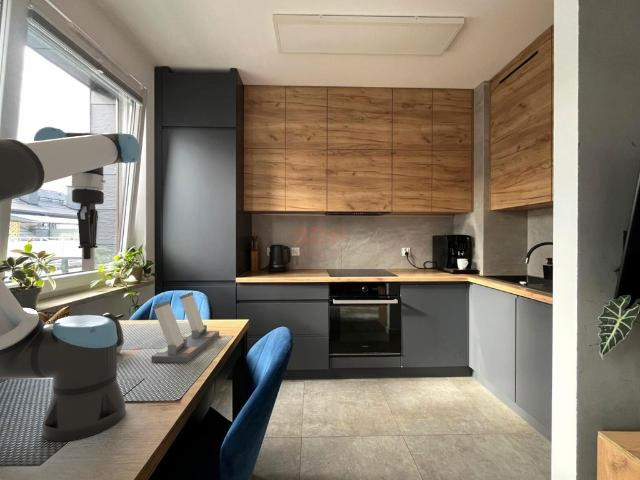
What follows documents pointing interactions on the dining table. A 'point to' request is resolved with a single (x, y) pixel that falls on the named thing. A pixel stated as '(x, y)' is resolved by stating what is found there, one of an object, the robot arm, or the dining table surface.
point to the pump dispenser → (117, 328)
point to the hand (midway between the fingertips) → (88, 270)
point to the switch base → (186, 347)
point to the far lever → (192, 312)
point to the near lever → (168, 324)
